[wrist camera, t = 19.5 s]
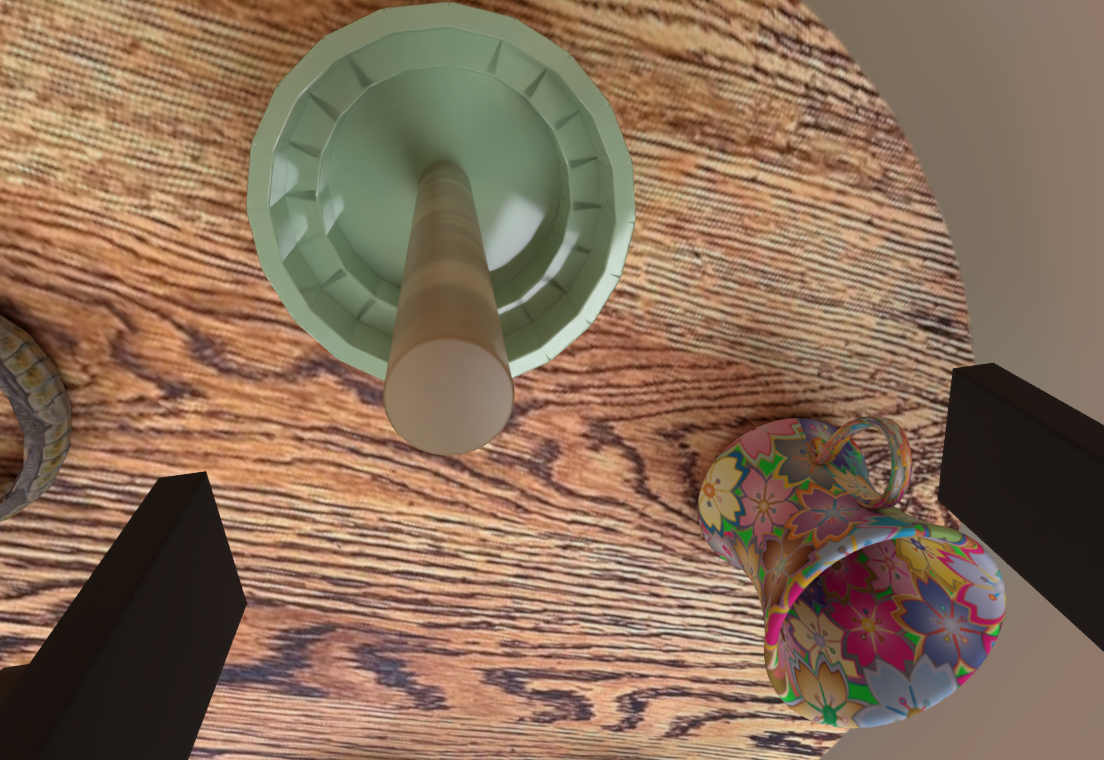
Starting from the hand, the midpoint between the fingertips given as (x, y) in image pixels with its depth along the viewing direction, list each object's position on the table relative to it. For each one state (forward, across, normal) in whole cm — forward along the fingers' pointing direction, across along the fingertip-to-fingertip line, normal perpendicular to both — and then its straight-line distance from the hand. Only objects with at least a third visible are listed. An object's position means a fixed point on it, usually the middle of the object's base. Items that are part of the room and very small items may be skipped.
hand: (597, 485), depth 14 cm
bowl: (+20, -2, +2) cm, 20 cm away
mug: (+20, +12, -12) cm, 26 cm away
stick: (+19, -2, +3) cm, 19 cm away
